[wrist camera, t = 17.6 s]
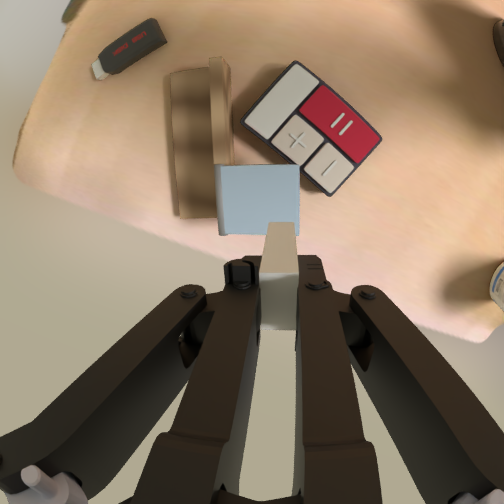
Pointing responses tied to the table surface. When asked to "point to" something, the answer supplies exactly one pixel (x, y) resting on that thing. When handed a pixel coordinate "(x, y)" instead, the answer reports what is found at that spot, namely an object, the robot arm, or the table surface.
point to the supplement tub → (498, 286)
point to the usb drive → (129, 49)
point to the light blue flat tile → (256, 197)
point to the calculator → (312, 127)
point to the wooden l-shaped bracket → (201, 134)
